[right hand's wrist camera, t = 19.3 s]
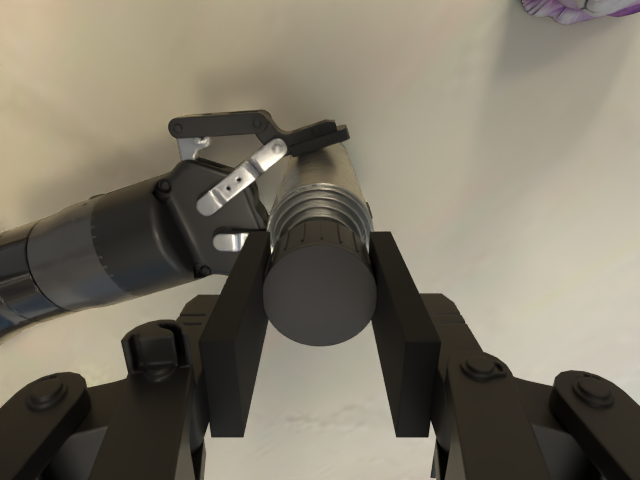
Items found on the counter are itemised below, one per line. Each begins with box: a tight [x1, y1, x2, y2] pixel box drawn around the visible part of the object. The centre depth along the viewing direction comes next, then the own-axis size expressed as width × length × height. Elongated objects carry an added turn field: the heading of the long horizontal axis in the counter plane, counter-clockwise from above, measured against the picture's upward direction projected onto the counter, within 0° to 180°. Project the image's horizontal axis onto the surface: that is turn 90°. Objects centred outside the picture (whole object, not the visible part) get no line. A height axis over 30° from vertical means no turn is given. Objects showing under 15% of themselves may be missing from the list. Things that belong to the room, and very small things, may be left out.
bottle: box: [266, 143, 374, 254], centre depth 23 cm, size 5×5×21 cm
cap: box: [263, 220, 377, 346], centre depth 14 cm, size 4×4×2 cm
